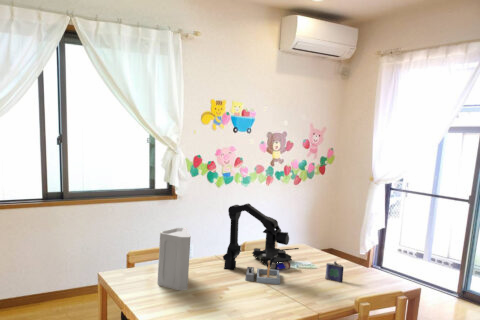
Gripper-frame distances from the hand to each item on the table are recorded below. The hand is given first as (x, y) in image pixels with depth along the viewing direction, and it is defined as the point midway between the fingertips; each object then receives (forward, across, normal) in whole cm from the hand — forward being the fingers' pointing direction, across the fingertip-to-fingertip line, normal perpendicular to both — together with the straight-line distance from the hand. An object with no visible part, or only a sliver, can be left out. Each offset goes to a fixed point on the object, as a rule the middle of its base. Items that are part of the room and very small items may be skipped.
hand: (268, 267), depth 199 cm
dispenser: (+7, -10, 0) cm, 12 cm away
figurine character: (+7, +8, +17) cm, 20 cm away
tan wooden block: (+6, 0, 0) cm, 6 cm away
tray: (+7, 0, 0) cm, 7 cm away
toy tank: (+7, +7, +34) cm, 36 cm away
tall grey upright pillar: (+7, -52, -17) cm, 56 cm away
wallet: (+7, +40, +7) cm, 41 cm away
